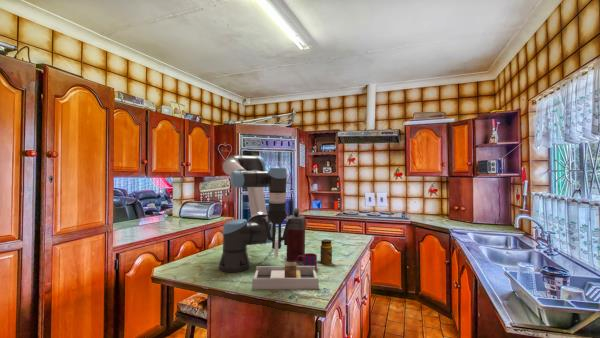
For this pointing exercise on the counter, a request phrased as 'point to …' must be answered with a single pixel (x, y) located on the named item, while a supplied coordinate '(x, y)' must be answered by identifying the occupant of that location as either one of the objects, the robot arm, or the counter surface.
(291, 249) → the dark red tall piece
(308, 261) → the mug
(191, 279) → the counter surface
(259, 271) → the box
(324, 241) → the condiment
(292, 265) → the block
